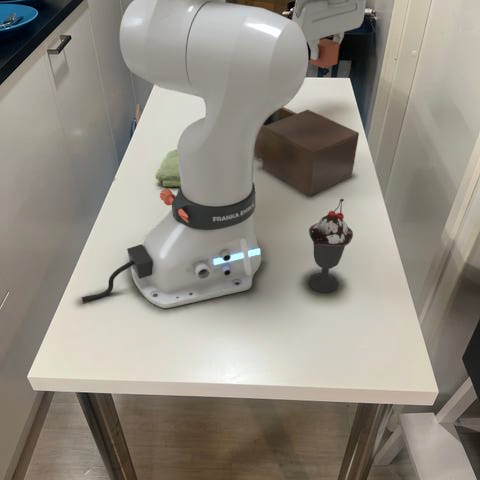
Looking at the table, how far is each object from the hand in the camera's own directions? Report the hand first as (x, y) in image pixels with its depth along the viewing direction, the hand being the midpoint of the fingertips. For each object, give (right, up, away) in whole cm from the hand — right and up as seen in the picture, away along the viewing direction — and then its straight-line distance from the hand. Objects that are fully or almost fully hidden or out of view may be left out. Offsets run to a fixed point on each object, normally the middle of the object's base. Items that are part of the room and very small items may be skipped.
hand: (324, 56), depth 115 cm
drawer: (-13, -22, -2) cm, 26 cm away
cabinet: (-5, -30, -8) cm, 31 cm away
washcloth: (-28, -30, -8) cm, 42 cm away
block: (0, -1, +1) cm, 2 cm away
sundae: (-6, -55, -33) cm, 65 cm away
